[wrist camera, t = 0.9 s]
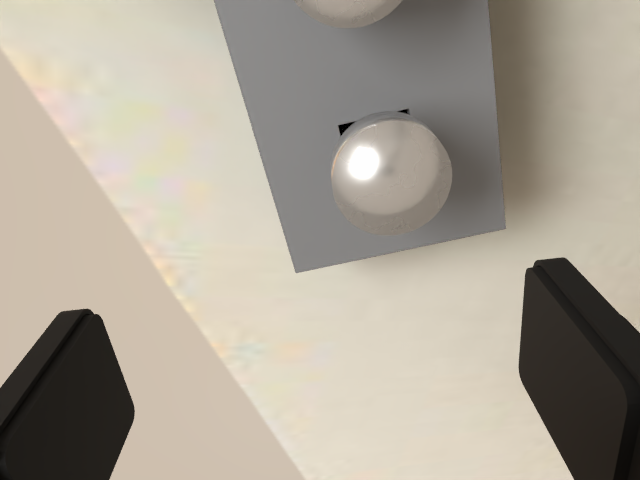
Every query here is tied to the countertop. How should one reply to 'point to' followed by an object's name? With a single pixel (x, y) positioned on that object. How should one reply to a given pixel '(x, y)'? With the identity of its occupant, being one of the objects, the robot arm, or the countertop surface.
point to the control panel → (367, 112)
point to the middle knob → (347, 11)
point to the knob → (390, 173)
